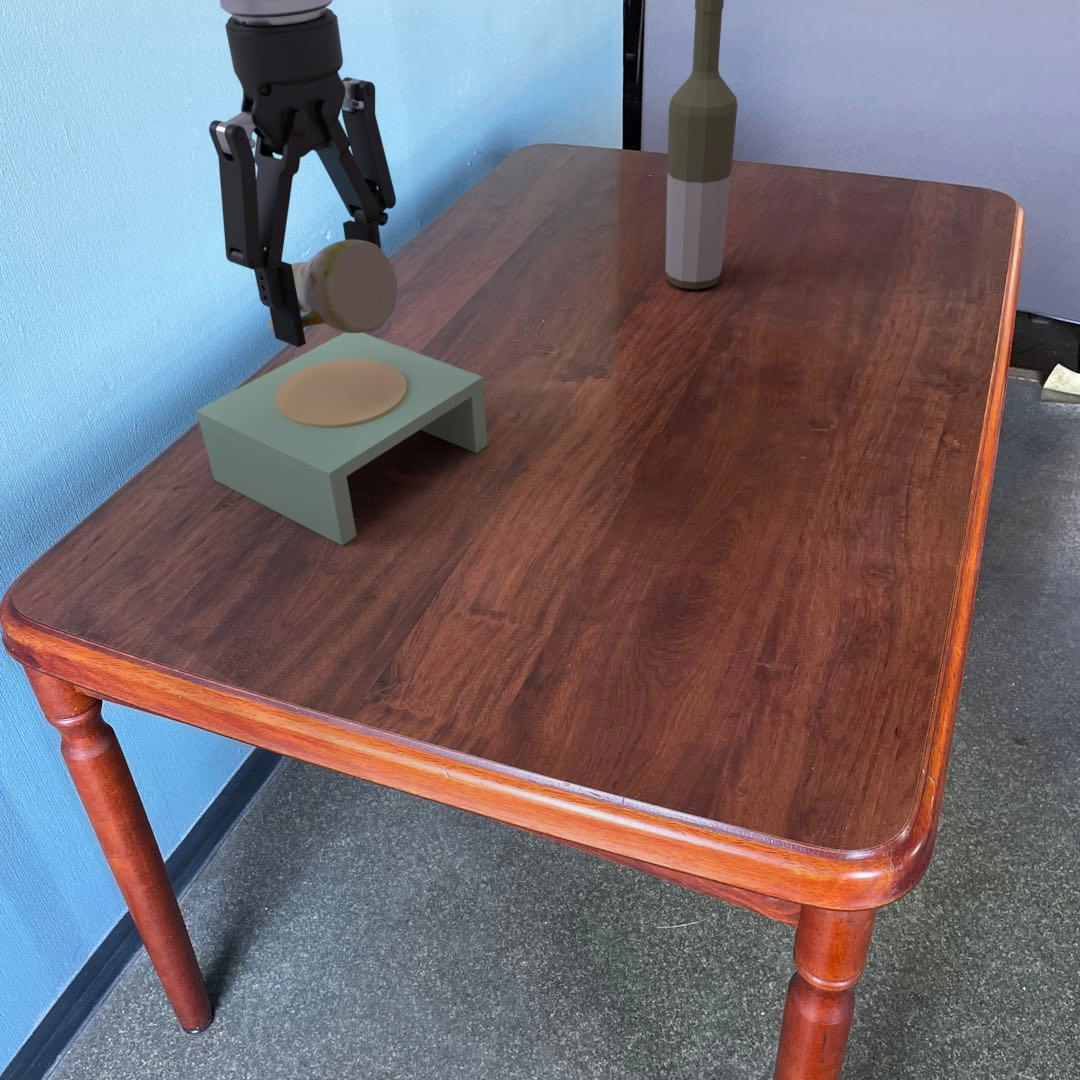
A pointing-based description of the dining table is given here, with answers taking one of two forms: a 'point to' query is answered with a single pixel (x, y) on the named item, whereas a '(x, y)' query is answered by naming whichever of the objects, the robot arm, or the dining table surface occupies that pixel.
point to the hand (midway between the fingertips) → (330, 320)
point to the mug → (346, 287)
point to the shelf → (335, 425)
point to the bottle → (700, 160)
